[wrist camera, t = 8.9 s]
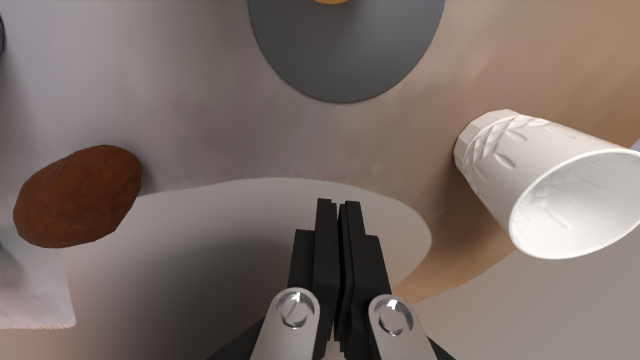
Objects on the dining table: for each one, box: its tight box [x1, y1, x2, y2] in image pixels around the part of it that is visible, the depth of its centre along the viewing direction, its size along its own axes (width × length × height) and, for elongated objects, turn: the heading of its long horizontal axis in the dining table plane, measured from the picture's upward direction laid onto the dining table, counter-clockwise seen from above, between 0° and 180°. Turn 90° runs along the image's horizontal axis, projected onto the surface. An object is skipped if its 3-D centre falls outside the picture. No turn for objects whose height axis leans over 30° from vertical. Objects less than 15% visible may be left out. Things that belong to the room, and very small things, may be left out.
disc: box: [248, 0, 445, 102], centre depth 19 cm, size 14×14×1 cm
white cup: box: [453, 109, 640, 259], centre depth 20 cm, size 8×8×10 cm
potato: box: [13, 145, 142, 248], centre depth 24 cm, size 8×12×8 cm, turn 128°
